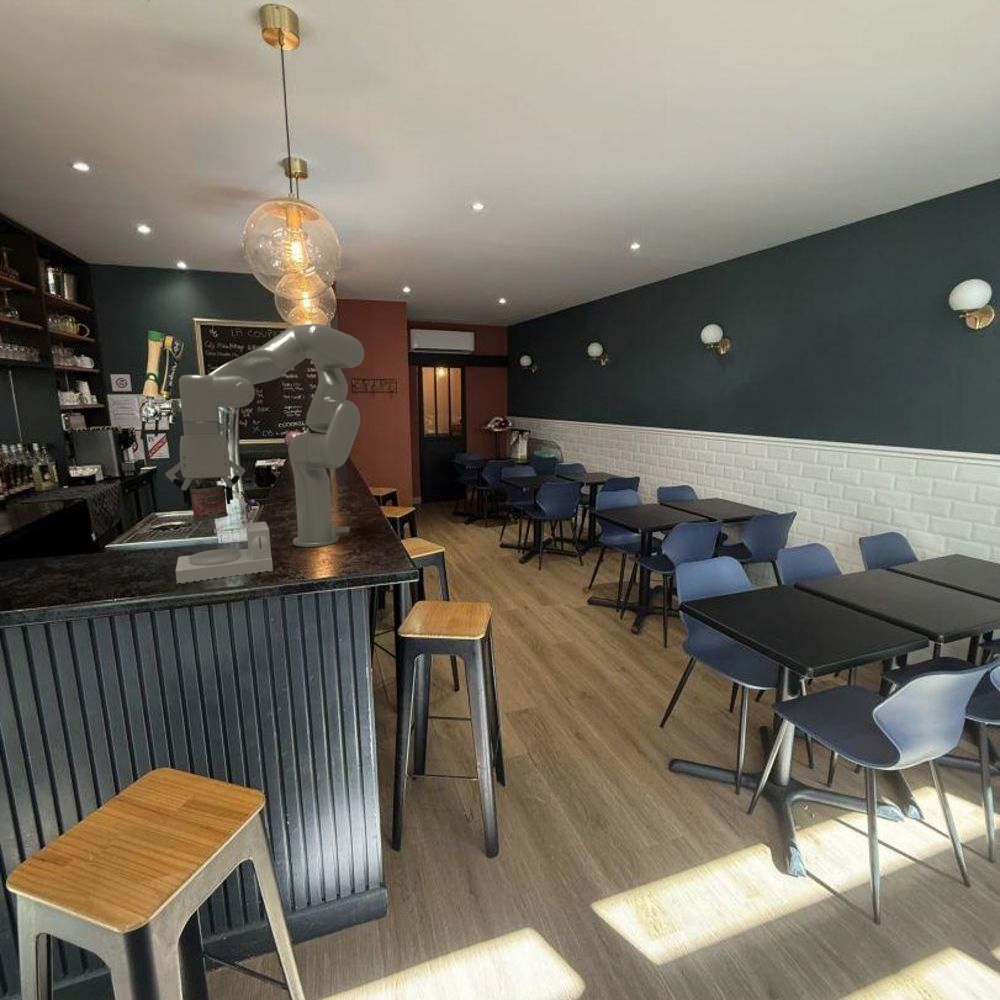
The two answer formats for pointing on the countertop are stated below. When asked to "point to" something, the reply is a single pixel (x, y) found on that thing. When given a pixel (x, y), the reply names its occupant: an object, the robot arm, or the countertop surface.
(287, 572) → the countertop surface
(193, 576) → the kitchen scale
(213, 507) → the lighter
